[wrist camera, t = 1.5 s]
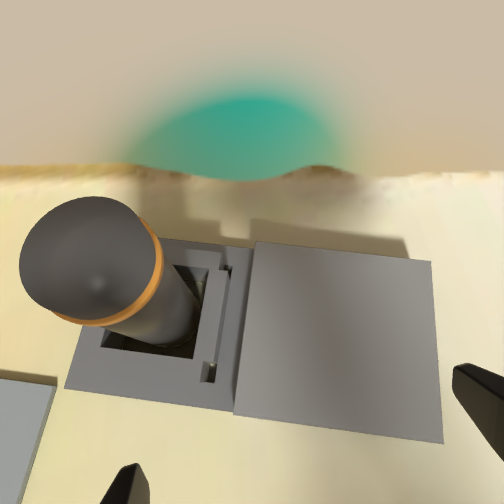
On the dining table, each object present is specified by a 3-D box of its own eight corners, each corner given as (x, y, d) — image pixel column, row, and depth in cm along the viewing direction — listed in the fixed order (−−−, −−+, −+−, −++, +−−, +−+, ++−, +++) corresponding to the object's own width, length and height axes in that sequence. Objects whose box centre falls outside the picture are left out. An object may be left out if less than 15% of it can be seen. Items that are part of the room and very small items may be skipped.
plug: (196, 354, 23) (131, 327, 11) (129, 345, 23) (-8, 309, 11) (208, 288, 24) (163, 199, 12) (145, 280, 25) (42, 186, 13)
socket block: (422, 437, 21) (453, 447, 18) (71, 388, 22) (40, 389, 19) (414, 272, 25) (438, 256, 22) (116, 237, 26) (96, 217, 23)
